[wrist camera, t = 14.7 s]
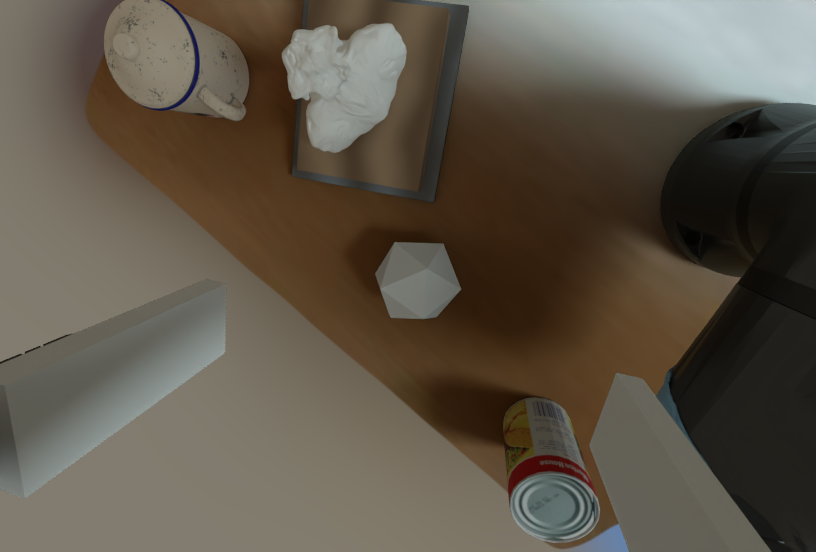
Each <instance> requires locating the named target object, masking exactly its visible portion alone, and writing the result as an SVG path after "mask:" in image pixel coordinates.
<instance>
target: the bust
mask: <svg viewBox="0 0 816 552" xmlns="http://www.w3.org/2000/svg"><path fill="white" fill-rule="evenodd" d="M406 54H407V50H406V46H405V44H404V42H403V41H402V37H401V35H400V34H399V33H398V32H397V31H396V30H395V27H394V26H393V25H392V24H390V23H383V24H370V25H367V26H366V27H364V28H362V29H359V30H356V31H355V32H354V33H353V34H352V35H351V37H350V39H349V40H340V39H339V38H338V31H337V28H336V27H335V26H332V27H331V26H330V25H325V26H321V27H318V28H315V29H314V30H305V29H298V30H295V31H294V33H293V35H292V39H291V43H290V44H289V45H288V46H287V47H286V48H285V49H284V50H283V52H282V60H283V63H284V65H285V67H286V70H287V73H288V75H287V79H288V88H289V91H290V93H291V96H292V98H293V99H299V98H304V99H305V100H309V99H310V97H311V102H310V103H309V104H308V106H307V110H306V117H307V119H306V122H307V132H308V136H309V140H310V142H311V145H312V146H313V147H315V148H319V149H320V150H322V151H330V152H332V153H337V152H340V151H341V150H343V149H346V148H347V147H349V146H350V145H351V144H352V143H353V142H354V140H356V139H357V138H358V137H359V136H360V135H362V134H365V133H367V132H368V131H370V130H371V129H372V128H373V127H374V126H375V125H376V124H378V123H379V122H381V121H382V120H384V119H385V118H386V116H387V114H388V111H389V108H390V104H391V101H392V100H393V98H394V96H395V93H396V87H397V81H398V78H399V76H400V74H401V72H402V70H403V68H404V66H405V62H406ZM309 94H310V96H309Z"/></svg>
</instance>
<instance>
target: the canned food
mask: <svg viewBox="0 0 816 552" xmlns="http://www.w3.org/2000/svg"><path fill="white" fill-rule="evenodd" d="M503 432H504V444H505V457H506V469H507V482H508V494H509V507H510V511H511V514H512V517H513V518H514V520H515V522H516V523H517V525H518V526H519V527H520V528H521V529H522V530H524V531H525V532H526V533H528V534H530V535H531V536H533V537H535V538H538V539H541V540H543V541H548V542H555V543H559V542H570V541H573V540H577V539H580V538H581V537H583V536H585V535H587V534H588V533H589V532H590V531H591V530H592V529H593V528H594V527H595V525H596V523H597V522H598V520H599V514H600V507H599V503H598V499H597V496H596V493H595V490H594V487H593V484H592V481H591V479H590V476H589V473H588V470H587V467H586V464H585V461H584V458H583V455H582V453H581V450H580V447H579V444H578V441H577V438H576V435H575V432H574V429H573V426H572V424H571V421H570V418H569V416H568V414H567V413H566V411H565V410H564V409H563V408H562V407H561V406H560V405H559V404H557V403H555V402H553V401H552V400H548V399H545V398H538V397H532V398H525V399H523V400H520V401H518V402H516V403H515V404H513V405H512V406H511V407H510V408H509V409H508V411H507V412H506V414H505V417H504V419H503Z"/></svg>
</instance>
